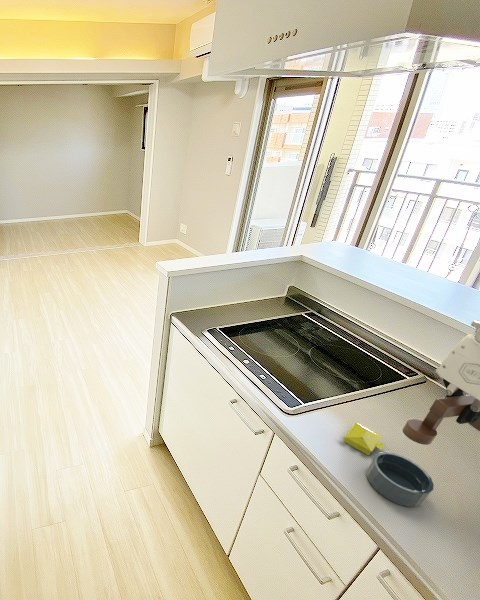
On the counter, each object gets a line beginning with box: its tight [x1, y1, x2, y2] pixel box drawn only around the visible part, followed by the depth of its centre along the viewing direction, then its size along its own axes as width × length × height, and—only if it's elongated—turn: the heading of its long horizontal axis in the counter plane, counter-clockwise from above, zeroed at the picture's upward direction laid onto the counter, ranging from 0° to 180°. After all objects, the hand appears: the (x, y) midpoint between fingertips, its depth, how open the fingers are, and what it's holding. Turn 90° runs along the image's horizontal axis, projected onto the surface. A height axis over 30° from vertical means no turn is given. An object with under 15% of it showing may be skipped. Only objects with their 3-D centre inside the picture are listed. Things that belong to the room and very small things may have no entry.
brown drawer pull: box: [402, 394, 480, 446], centre depth 66 cm, size 17×4×9 cm, turn 97°
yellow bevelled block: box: [343, 421, 390, 456], centre depth 82 cm, size 10×9×3 cm
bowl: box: [365, 451, 435, 508], centre depth 71 cm, size 10×10×5 cm
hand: (455, 415), depth 66 cm, fingers closed on brown drawer pull, 2 cm apart
